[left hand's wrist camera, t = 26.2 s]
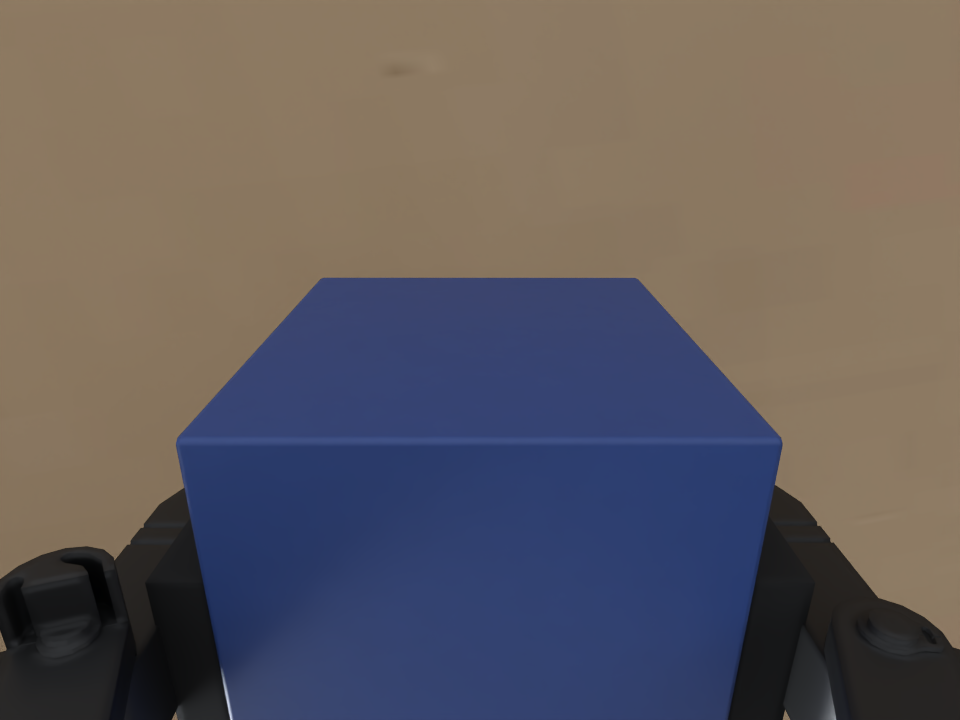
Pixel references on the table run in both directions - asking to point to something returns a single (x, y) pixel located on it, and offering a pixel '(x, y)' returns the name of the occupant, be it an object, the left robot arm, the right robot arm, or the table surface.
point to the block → (479, 507)
